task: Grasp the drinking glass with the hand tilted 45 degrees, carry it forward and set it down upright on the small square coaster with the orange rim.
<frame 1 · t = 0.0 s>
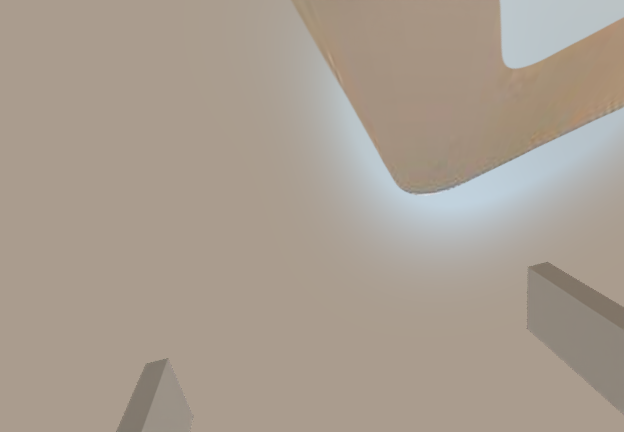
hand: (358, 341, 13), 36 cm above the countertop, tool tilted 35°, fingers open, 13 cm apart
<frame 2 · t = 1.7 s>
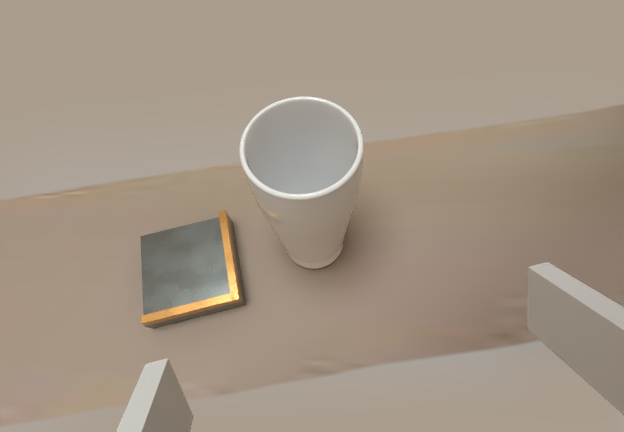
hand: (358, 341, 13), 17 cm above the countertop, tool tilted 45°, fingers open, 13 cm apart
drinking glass: (314, 243, 32), on the countertop
square coaster: (194, 272, 32), on the countertop
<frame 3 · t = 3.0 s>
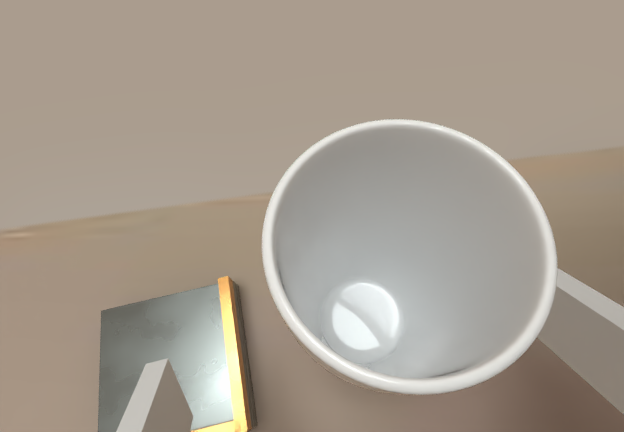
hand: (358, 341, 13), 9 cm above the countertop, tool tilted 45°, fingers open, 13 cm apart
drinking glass: (359, 323, 22), on the countertop
square coaster: (181, 366, 21), on the countertop
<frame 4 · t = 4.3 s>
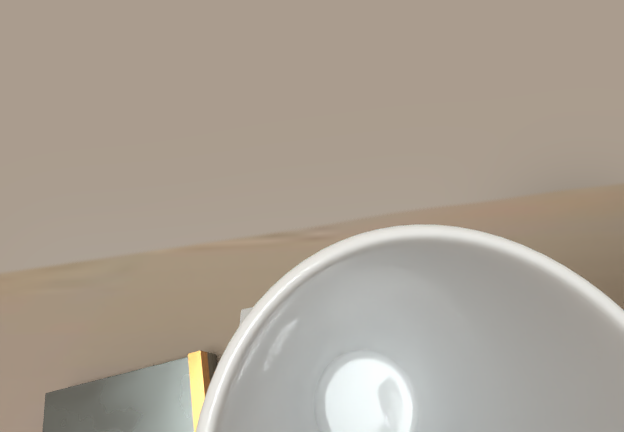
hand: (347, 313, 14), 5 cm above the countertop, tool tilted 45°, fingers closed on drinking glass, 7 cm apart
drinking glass: (362, 402, 18), on the countertop, touching gripper
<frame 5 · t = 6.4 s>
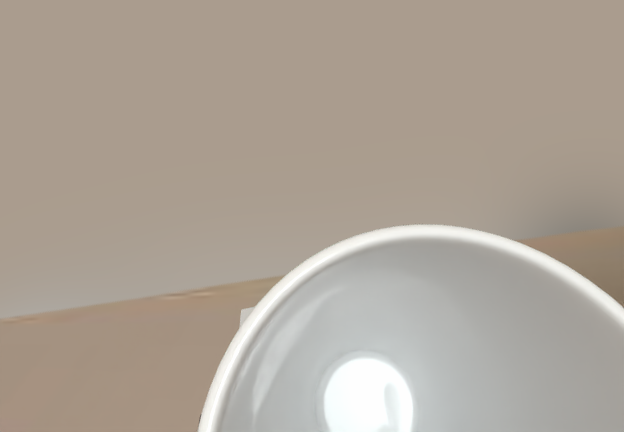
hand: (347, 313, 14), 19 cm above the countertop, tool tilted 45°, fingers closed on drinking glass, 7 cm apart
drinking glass: (362, 402, 18), point 14 cm above the countertop, touching gripper
when the fingers open (8 cm above the countertop, at t = 8.8 s): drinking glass drops 1 cm, resting on square coaster.
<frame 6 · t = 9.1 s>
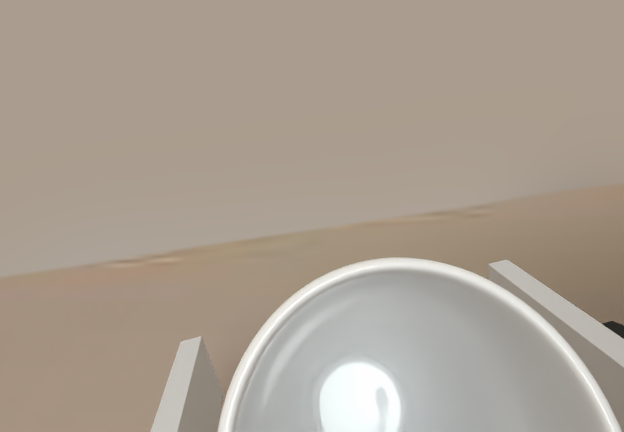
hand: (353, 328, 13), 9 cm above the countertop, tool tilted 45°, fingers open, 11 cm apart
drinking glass: (355, 403, 19), point 1 cm above the countertop, touching square coaster
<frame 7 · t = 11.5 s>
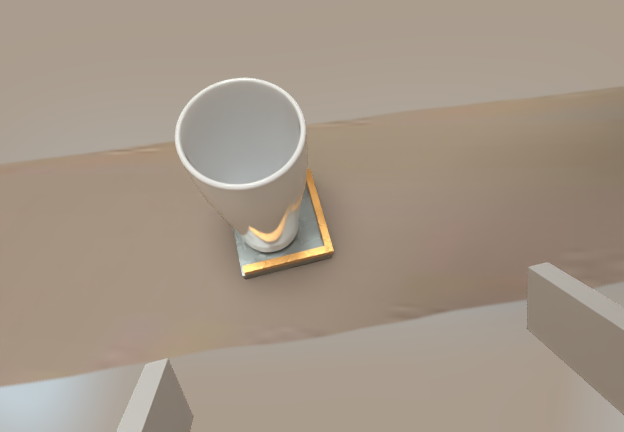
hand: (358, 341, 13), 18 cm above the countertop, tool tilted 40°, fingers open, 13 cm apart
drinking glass: (269, 225, 32), point 1 cm above the countertop, touching square coaster
square coaster: (279, 227, 33), on the countertop
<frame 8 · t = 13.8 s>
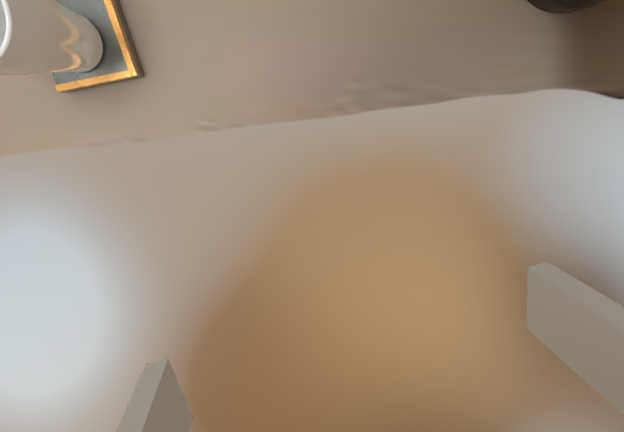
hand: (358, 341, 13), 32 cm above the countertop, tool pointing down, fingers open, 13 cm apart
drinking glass: (76, 43, 34), point 1 cm above the countertop, touching square coaster
square coaster: (90, 42, 36), on the countertop
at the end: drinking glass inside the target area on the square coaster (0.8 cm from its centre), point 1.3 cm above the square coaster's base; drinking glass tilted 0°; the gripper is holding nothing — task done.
